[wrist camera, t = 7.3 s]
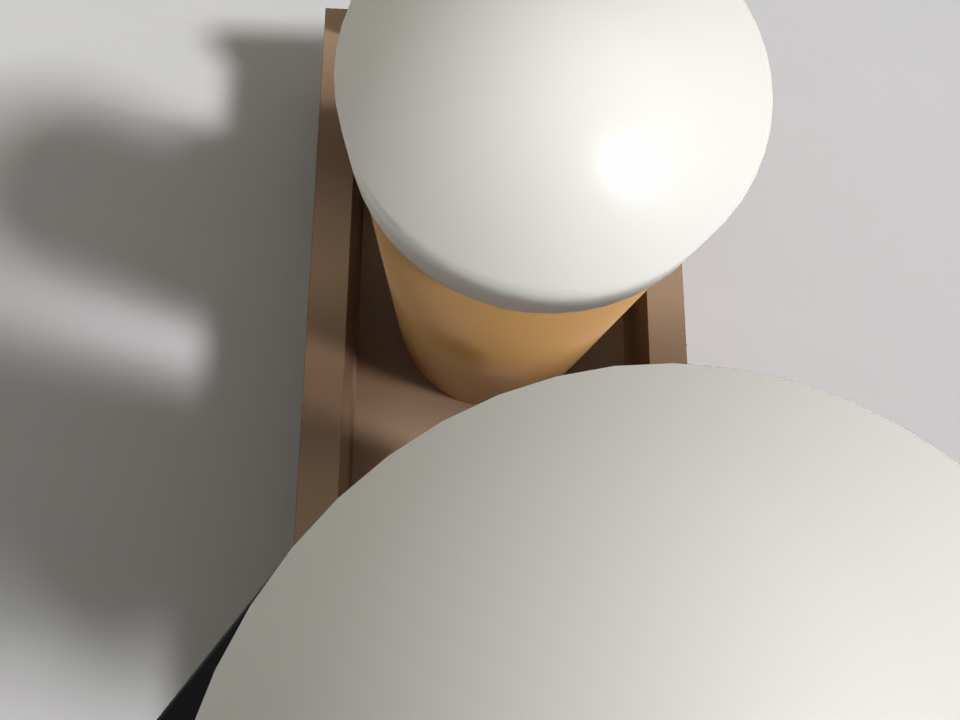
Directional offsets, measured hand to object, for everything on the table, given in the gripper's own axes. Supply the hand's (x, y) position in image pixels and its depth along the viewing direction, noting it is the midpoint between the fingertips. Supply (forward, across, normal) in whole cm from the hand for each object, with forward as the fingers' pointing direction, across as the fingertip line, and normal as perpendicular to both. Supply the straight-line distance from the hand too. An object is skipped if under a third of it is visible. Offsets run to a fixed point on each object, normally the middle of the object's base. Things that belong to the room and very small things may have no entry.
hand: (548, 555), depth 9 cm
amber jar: (+12, 0, +3) cm, 12 cm away
